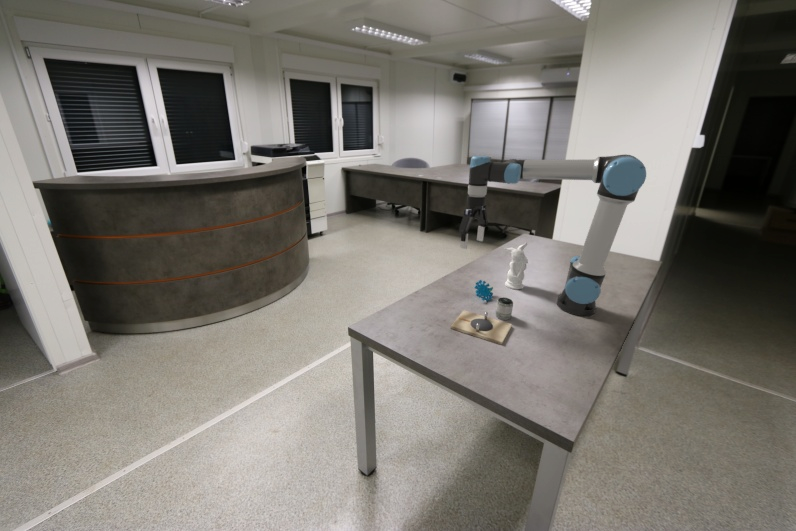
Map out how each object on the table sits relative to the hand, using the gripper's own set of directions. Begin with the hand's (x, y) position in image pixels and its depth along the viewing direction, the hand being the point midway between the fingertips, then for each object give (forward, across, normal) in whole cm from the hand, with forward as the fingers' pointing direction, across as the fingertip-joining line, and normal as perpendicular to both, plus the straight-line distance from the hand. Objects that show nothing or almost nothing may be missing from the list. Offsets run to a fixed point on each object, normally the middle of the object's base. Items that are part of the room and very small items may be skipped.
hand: (471, 244), depth 151 cm
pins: (+24, +19, +18) cm, 36 cm away
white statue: (+25, -26, +9) cm, 37 cm away
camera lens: (+25, +6, +21) cm, 33 cm away
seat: (+24, +19, +18) cm, 36 cm away
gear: (+25, -4, +6) cm, 27 cm away
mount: (+25, +19, +18) cm, 37 cm away
